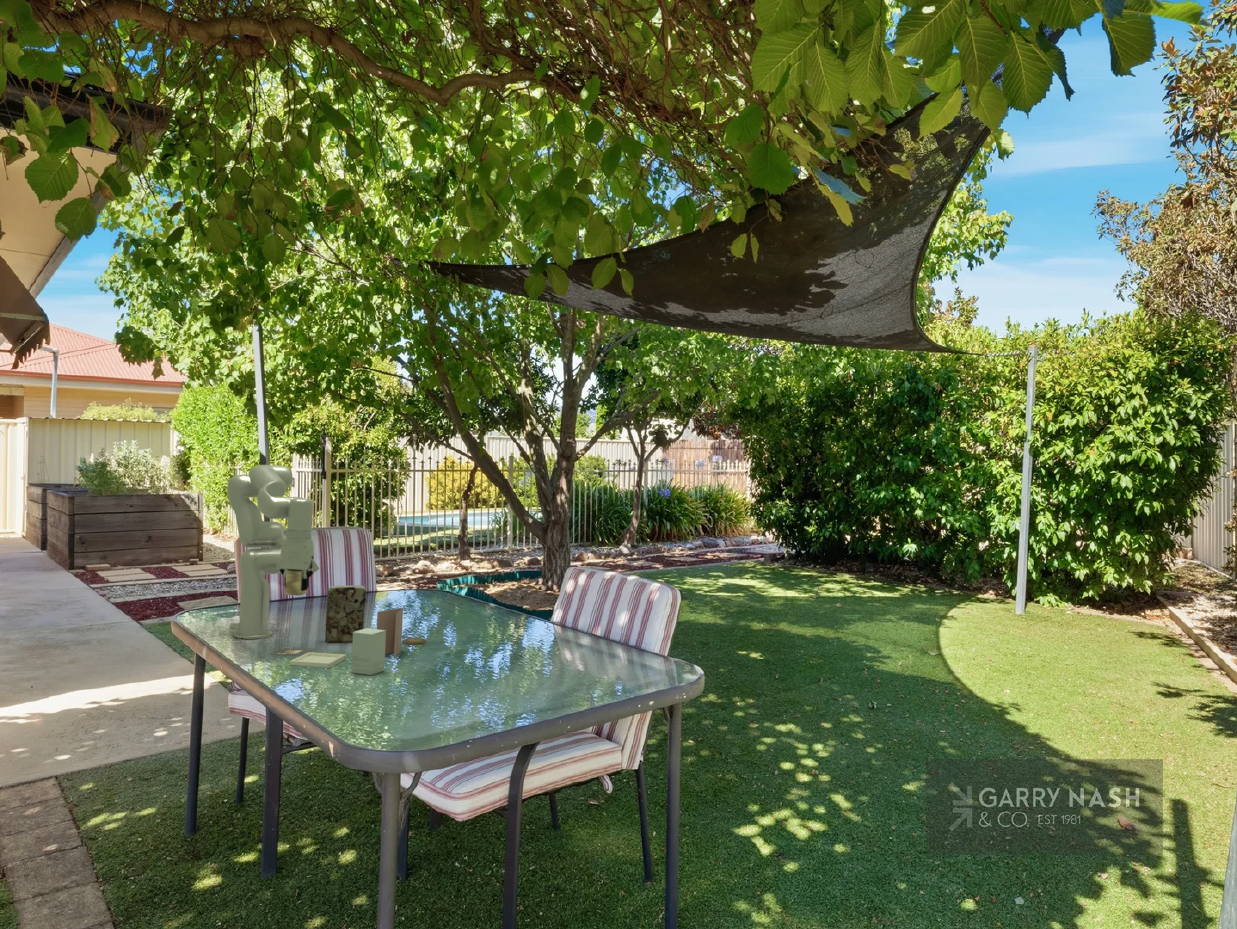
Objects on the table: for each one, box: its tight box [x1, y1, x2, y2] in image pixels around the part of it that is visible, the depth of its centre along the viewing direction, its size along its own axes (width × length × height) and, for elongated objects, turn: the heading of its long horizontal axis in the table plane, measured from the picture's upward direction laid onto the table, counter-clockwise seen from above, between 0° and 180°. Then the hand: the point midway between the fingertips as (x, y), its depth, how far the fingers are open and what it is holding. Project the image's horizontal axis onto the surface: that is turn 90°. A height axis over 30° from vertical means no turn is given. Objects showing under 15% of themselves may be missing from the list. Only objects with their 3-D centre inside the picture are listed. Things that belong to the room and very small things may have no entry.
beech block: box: [284, 570, 308, 596], centre depth 265 cm, size 5×5×8 cm
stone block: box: [324, 584, 367, 644], centre depth 284 cm, size 13×7×20 cm, turn 118°
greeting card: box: [376, 607, 404, 659], centre depth 267 cm, size 11×7×15 cm, turn 149°
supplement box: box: [350, 627, 386, 676], centre depth 244 cm, size 7×7×13 cm
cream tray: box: [289, 651, 347, 669], centre depth 253 cm, size 13×13×2 cm
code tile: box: [266, 646, 318, 658], centre depth 265 cm, size 12×12×1 cm
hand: (296, 588), depth 265 cm, fingers closed on beech block, 5 cm apart
